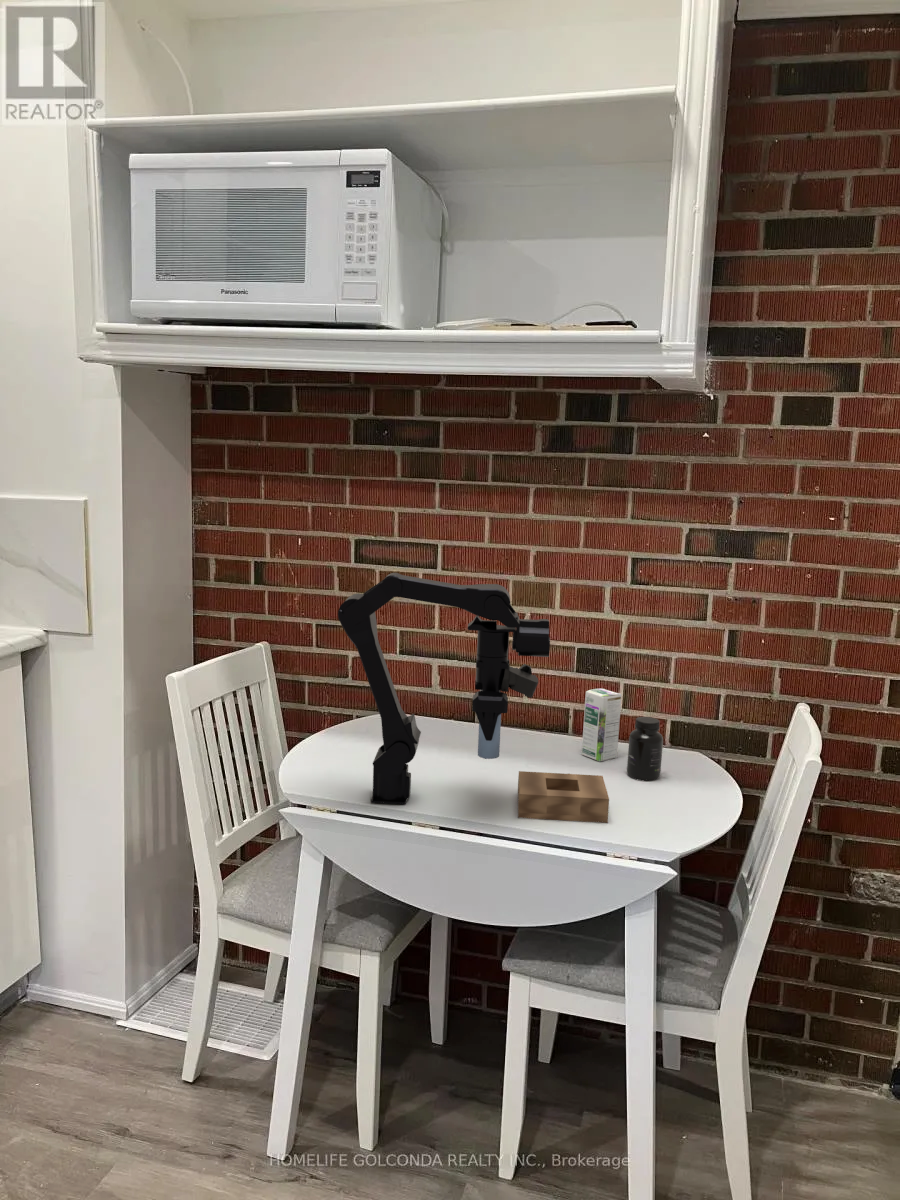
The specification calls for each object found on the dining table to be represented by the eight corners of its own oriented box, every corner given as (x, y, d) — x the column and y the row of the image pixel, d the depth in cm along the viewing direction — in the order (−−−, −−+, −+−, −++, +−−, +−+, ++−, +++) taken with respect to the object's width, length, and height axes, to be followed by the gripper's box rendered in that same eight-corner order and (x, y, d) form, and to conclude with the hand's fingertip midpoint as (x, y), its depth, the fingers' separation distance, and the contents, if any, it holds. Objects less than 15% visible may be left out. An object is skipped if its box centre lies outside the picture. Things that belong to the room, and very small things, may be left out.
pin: (477, 758, 174) (479, 705, 172) (478, 751, 178) (480, 699, 176) (499, 759, 174) (501, 706, 172) (499, 752, 178) (501, 700, 176)
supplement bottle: (619, 774, 195) (623, 718, 193) (638, 767, 200) (642, 712, 198) (648, 784, 191) (652, 726, 189) (666, 776, 195) (671, 720, 193)
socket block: (518, 817, 171) (519, 794, 170) (517, 793, 183) (518, 771, 182) (607, 822, 170) (609, 798, 170) (601, 798, 182) (602, 775, 181)
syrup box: (580, 754, 207) (584, 690, 205) (599, 750, 211) (603, 686, 208) (599, 762, 203) (603, 696, 200) (618, 757, 206) (622, 692, 204)
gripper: (538, 668, 163) (534, 755, 166) (535, 645, 181) (531, 724, 184) (473, 665, 164) (470, 752, 166) (477, 642, 182) (474, 721, 185)
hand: (489, 736), depth 175 cm, fingers closed on pin, 4 cm apart
